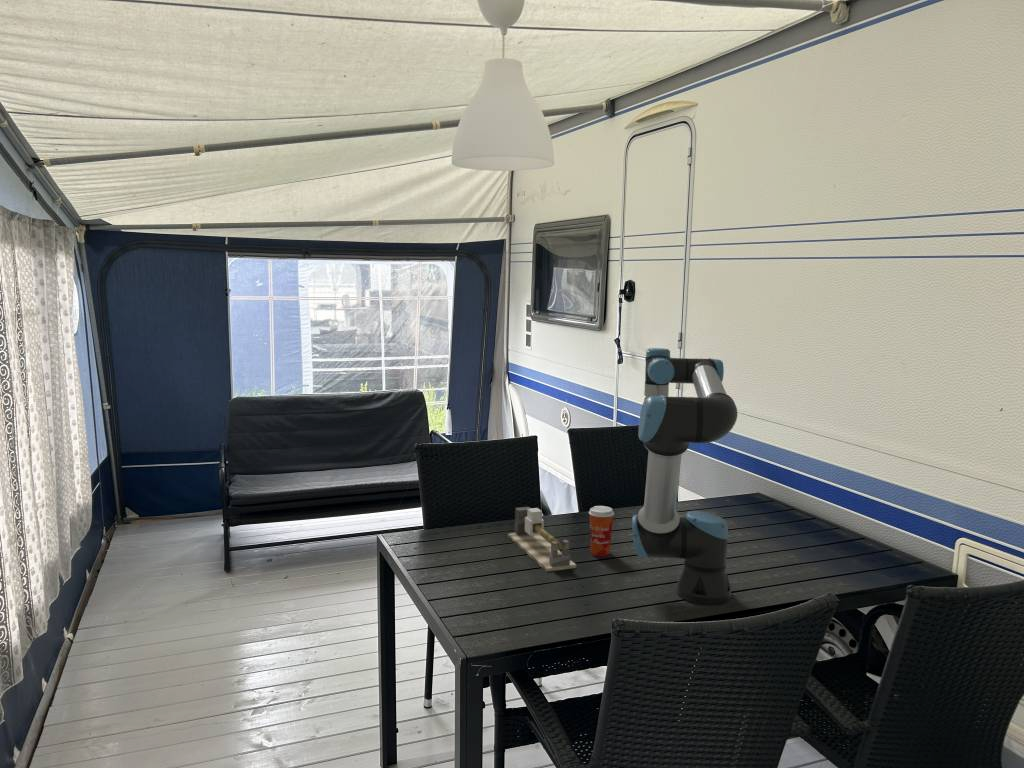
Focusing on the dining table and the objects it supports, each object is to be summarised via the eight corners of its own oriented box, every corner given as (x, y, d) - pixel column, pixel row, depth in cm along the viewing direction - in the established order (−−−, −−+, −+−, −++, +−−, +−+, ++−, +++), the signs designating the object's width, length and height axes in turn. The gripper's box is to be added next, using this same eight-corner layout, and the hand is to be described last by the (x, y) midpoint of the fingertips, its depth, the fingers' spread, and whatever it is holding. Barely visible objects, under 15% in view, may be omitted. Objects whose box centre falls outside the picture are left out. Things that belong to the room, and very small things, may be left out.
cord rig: (576, 567, 239) (577, 536, 237) (546, 571, 235) (547, 540, 234) (534, 533, 270) (535, 505, 269) (508, 536, 267) (508, 508, 265)
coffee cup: (583, 554, 250) (584, 510, 248) (593, 547, 257) (594, 503, 255) (607, 559, 246) (609, 514, 244) (616, 551, 253) (618, 507, 251)
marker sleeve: (543, 534, 256) (544, 511, 255) (530, 535, 254) (530, 512, 253) (537, 529, 260) (538, 507, 259) (524, 531, 259) (525, 508, 258)
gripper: (678, 399, 238) (675, 473, 241) (654, 393, 250) (652, 464, 253) (658, 400, 235) (655, 475, 238) (635, 394, 247) (632, 466, 250)
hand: (653, 470), depth 245 cm, fingers closed
